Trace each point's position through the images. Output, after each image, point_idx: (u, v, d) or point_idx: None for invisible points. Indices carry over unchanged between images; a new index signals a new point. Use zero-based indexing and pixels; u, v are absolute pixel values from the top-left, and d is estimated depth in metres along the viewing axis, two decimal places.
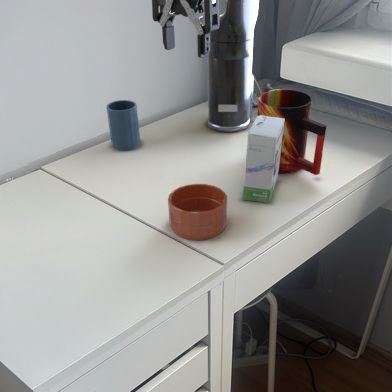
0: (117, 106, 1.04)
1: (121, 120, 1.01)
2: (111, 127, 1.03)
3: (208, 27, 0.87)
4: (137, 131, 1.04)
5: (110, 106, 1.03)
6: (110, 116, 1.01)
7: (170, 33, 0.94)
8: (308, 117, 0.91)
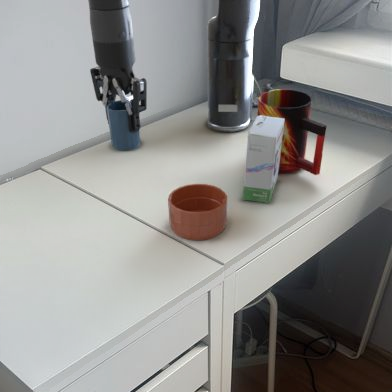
0: (117, 106, 1.04)
1: (121, 120, 1.01)
2: (111, 127, 1.03)
3: (135, 109, 0.97)
4: None
5: (110, 106, 1.03)
6: (110, 116, 1.01)
7: None
8: (308, 117, 0.91)
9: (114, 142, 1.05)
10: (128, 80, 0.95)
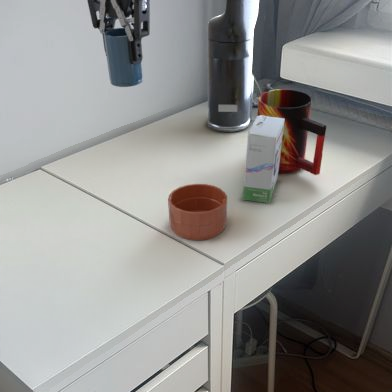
0: (116, 35, 0.91)
1: (120, 48, 0.87)
2: (109, 58, 0.89)
3: (137, 33, 0.84)
4: (139, 64, 0.91)
5: (108, 34, 0.89)
6: (108, 44, 0.88)
7: None
8: (308, 117, 0.91)
9: (112, 77, 0.91)
10: None
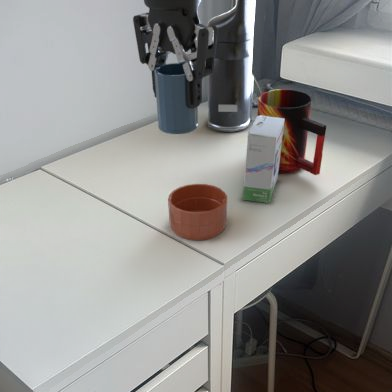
0: (168, 71, 0.74)
1: (175, 89, 0.71)
2: (160, 100, 0.73)
3: (199, 72, 0.68)
4: (195, 107, 0.74)
5: (159, 71, 0.73)
6: (160, 84, 0.71)
7: None
8: (308, 117, 0.91)
9: (163, 122, 0.75)
10: (191, 28, 0.65)
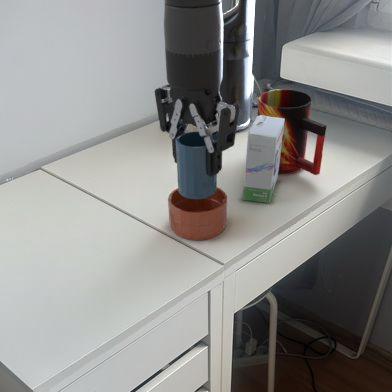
0: (188, 139, 0.76)
1: (196, 160, 0.73)
2: (181, 168, 0.75)
3: (220, 146, 0.70)
4: None
5: (179, 140, 0.75)
6: (181, 154, 0.73)
7: None
8: (308, 117, 0.91)
9: (183, 188, 0.77)
10: (213, 106, 0.67)
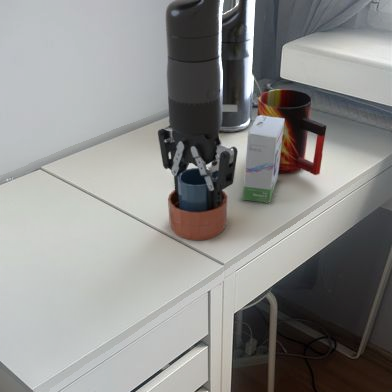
0: (190, 175, 0.80)
1: (197, 197, 0.77)
2: (182, 204, 0.79)
3: (220, 186, 0.74)
4: None
5: (181, 177, 0.79)
6: (183, 191, 0.77)
7: None
8: (308, 117, 0.91)
9: None
10: (213, 149, 0.72)
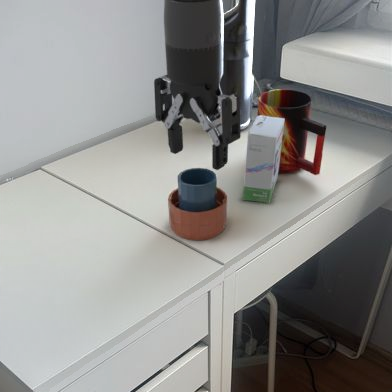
0: (190, 175, 0.80)
1: (197, 197, 0.77)
2: (182, 204, 0.79)
3: (226, 139, 0.69)
4: None
5: (181, 177, 0.79)
6: (183, 191, 0.77)
7: (177, 135, 0.76)
8: (308, 117, 0.91)
9: None
10: (213, 101, 0.67)
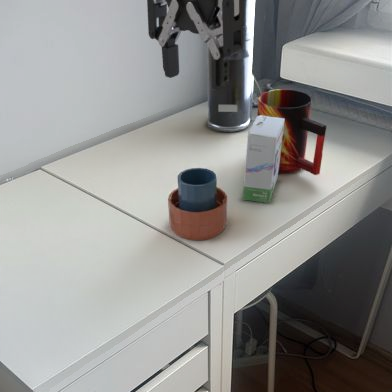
0: (190, 175, 0.80)
1: (197, 197, 0.77)
2: (182, 204, 0.79)
3: (228, 49, 0.61)
4: None
5: (181, 177, 0.79)
6: (183, 191, 0.77)
7: (172, 54, 0.68)
8: (308, 117, 0.91)
9: None
10: (213, 4, 0.59)
